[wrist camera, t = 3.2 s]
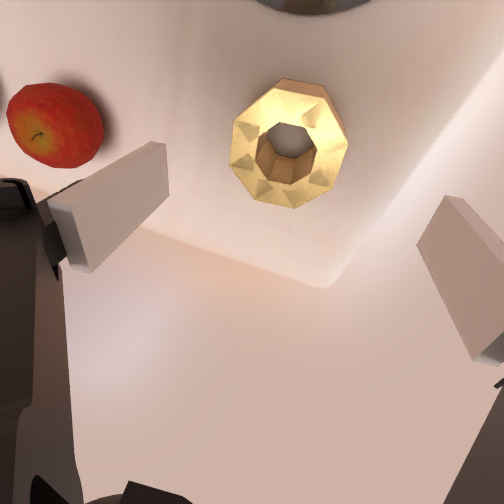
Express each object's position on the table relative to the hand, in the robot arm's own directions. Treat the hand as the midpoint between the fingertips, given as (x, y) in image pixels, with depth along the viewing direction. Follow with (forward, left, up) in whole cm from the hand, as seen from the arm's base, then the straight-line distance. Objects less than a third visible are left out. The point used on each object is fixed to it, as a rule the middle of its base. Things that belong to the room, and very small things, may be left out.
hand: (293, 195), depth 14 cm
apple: (-24, -5, -18) cm, 30 cm away
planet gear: (-1, -2, -17) cm, 17 cm away
